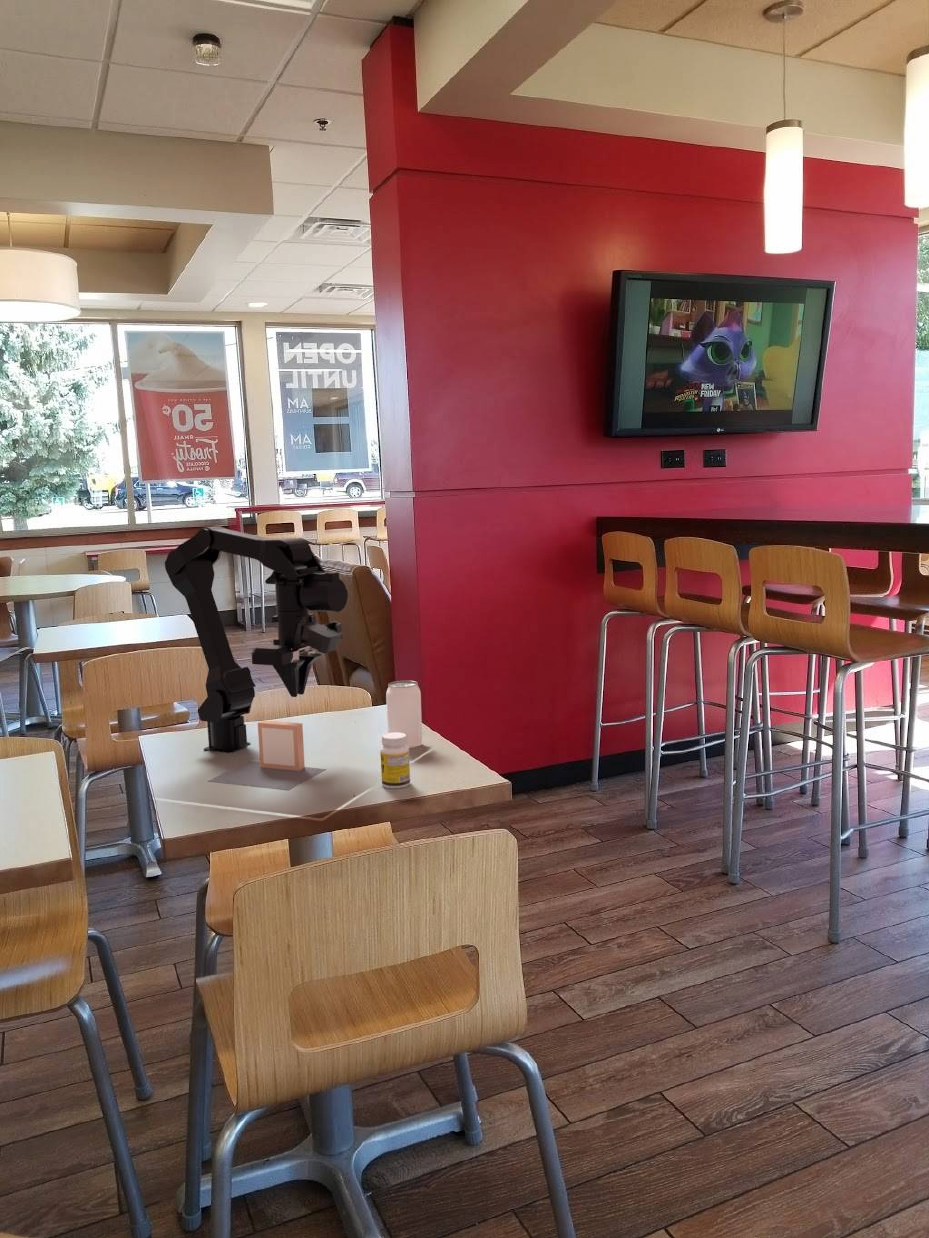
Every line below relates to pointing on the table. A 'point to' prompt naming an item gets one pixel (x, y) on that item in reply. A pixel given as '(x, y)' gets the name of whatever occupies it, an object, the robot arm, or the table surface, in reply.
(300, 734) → the tile
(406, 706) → the can
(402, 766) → the supplement bottle
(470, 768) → the table surface
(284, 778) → the mat
